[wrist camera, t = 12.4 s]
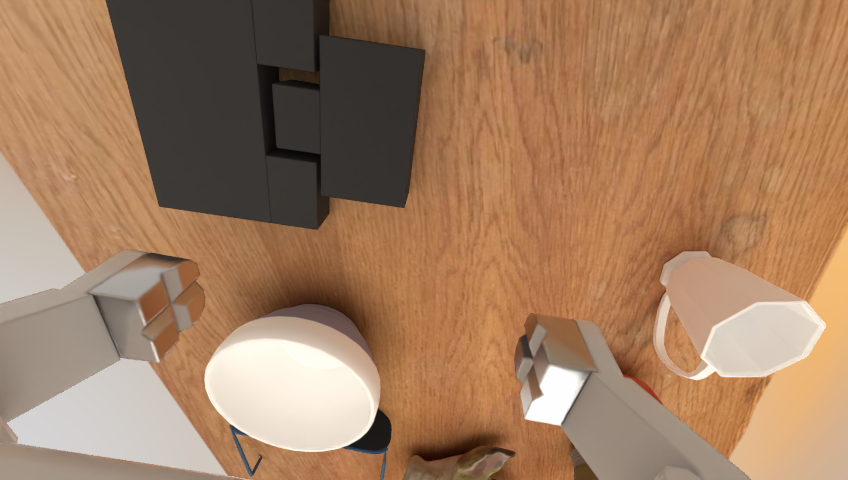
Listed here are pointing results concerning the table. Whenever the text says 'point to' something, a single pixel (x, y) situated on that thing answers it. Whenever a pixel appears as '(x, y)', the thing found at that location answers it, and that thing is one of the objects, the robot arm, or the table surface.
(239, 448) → the sunglasses
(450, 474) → the ceramic sculpture
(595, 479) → the light bulb
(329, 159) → the black stepped block
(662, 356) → the cup
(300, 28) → the base pad
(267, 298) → the table surface
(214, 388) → the bowl
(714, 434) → the table surface
